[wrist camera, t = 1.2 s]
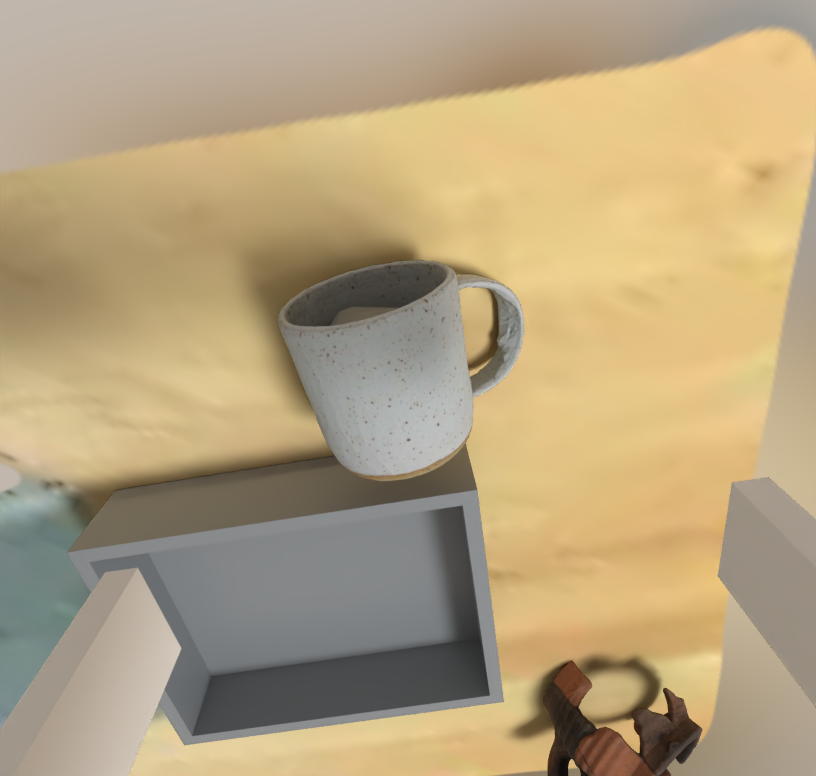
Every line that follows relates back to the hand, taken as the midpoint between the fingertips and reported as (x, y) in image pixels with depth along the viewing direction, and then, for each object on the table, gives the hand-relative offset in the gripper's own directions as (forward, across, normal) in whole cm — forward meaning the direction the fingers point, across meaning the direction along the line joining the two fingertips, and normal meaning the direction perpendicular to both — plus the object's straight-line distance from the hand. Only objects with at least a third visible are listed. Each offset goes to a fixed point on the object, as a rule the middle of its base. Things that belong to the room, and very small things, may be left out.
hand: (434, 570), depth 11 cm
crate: (+16, -8, -15) cm, 24 cm away
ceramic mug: (+16, 0, 0) cm, 17 cm away
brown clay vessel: (+16, +9, -33) cm, 38 cm away
